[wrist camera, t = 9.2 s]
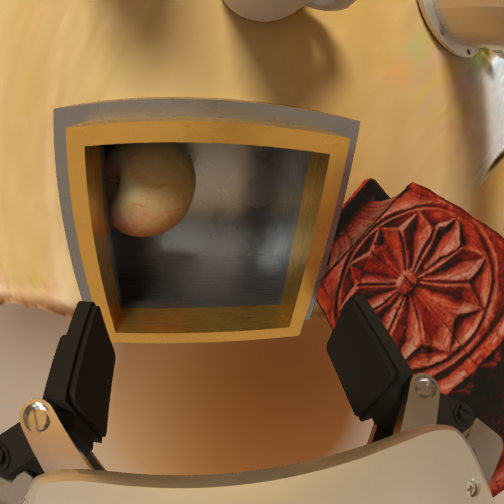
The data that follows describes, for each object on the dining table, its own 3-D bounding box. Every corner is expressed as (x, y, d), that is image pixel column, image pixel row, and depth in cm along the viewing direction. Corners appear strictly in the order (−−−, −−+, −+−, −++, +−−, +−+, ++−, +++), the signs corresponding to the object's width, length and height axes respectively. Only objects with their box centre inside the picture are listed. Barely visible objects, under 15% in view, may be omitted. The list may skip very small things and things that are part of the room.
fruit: (155, 176, 25) (75, 169, 19) (199, 126, 21) (105, 103, 15) (171, 251, 24) (81, 256, 18) (225, 210, 19) (111, 203, 13)
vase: (369, 154, 27) (621, 361, 2) (420, 224, 33) (574, 387, 8) (284, 248, 31) (426, 538, 6) (351, 296, 38) (463, 488, 13)
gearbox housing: (303, 108, 23) (383, 128, 13) (278, 257, 32) (319, 341, 21) (102, 100, 19) (32, 113, 9) (112, 258, 28) (84, 349, 17)
